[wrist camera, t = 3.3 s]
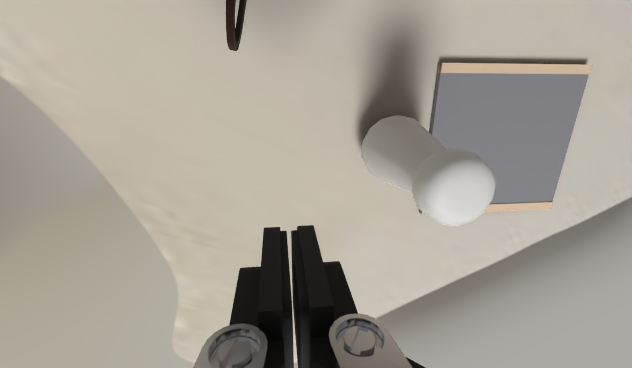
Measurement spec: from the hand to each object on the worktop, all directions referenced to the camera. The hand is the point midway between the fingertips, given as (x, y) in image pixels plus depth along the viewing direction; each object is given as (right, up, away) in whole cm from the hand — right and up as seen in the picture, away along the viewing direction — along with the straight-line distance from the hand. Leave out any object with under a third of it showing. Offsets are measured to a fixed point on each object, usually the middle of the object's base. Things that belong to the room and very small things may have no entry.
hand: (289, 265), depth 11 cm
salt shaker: (+7, +7, +18) cm, 21 cm away
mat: (+18, +7, +19) cm, 27 cm away
